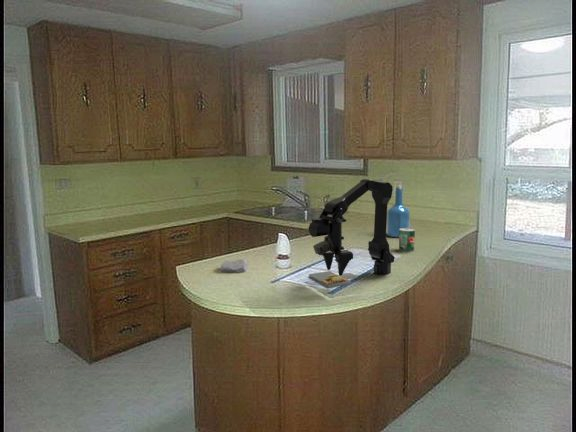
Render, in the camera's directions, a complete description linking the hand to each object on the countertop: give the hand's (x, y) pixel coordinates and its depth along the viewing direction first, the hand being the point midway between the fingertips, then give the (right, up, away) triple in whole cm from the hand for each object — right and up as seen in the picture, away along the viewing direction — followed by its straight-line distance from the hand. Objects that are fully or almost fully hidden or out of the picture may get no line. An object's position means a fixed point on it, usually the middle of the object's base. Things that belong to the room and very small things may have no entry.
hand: (334, 272), depth 186 cm
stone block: (-43, -3, +27) cm, 50 cm away
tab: (+7, -4, +10) cm, 13 cm away
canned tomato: (+43, +4, +58) cm, 72 cm away
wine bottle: (+47, +10, +94) cm, 106 cm away
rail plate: (-2, -5, +5) cm, 7 cm away
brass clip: (0, -5, +1) cm, 6 cm away
